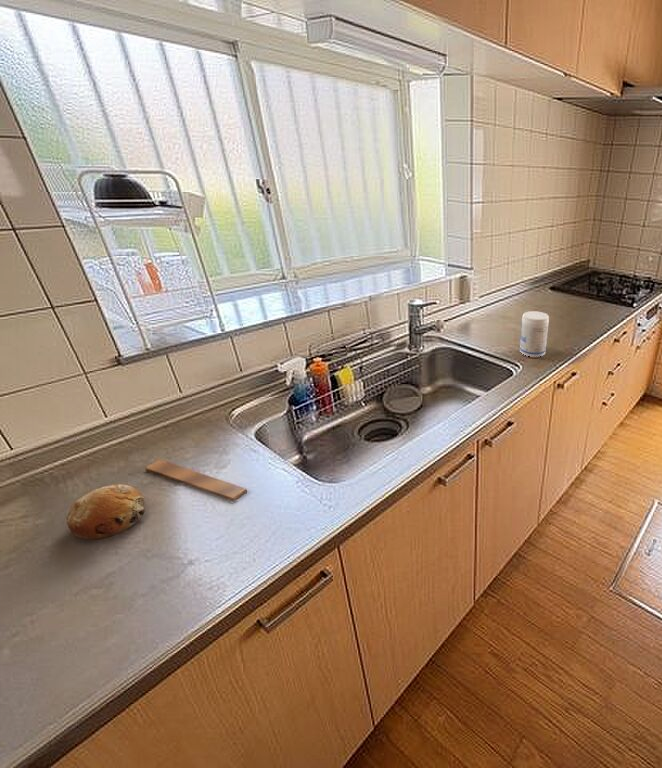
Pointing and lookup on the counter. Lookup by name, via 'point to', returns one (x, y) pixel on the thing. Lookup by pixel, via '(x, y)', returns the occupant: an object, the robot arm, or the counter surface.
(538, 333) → the supplement tub
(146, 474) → the counter surface
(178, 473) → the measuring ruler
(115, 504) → the bread roll
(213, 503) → the counter surface
